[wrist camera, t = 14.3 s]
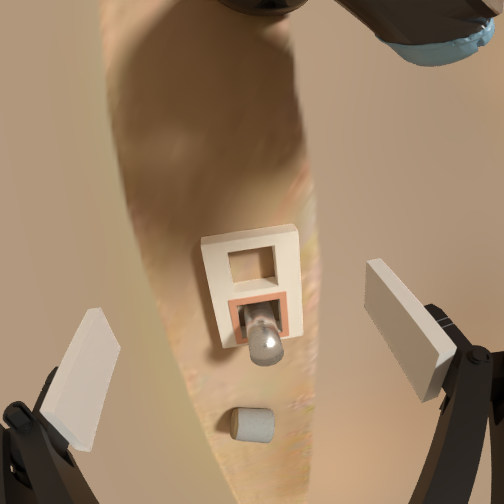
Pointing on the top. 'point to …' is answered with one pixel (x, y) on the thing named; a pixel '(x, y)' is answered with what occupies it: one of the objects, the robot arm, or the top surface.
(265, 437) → the ceramic mug
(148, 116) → the top surface
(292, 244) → the pin board
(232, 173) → the top surface
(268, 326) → the pin
